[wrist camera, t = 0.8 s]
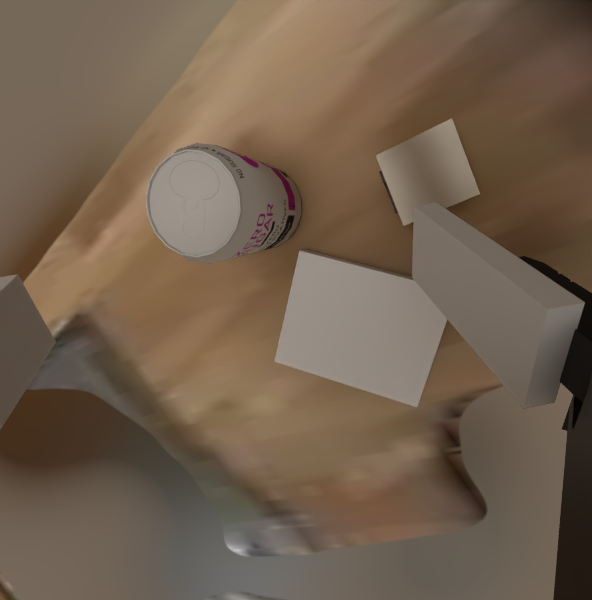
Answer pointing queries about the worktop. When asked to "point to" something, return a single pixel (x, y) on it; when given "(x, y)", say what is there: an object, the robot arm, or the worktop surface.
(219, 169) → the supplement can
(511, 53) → the worktop surface
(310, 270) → the grey board
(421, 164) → the letter block
